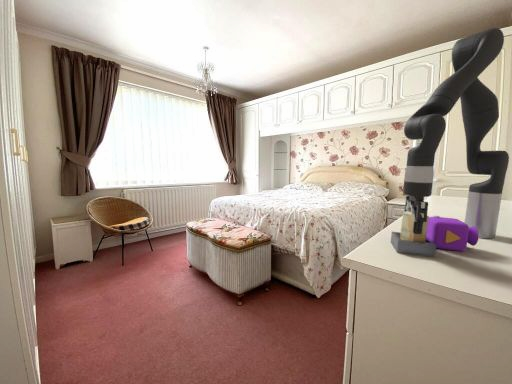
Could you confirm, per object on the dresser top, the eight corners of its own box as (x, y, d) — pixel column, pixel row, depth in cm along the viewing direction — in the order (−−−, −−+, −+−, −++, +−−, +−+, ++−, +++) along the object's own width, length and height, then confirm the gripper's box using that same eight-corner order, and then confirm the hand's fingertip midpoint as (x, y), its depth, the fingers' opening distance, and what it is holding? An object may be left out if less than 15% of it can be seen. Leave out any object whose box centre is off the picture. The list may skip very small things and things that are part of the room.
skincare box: (398, 246, 78) (401, 211, 77) (410, 246, 79) (414, 211, 77) (412, 253, 72) (416, 215, 70) (425, 253, 72) (429, 215, 71)
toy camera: (485, 254, 72) (489, 224, 71) (435, 251, 75) (439, 221, 73) (461, 243, 82) (465, 215, 81) (419, 240, 85) (422, 213, 84)
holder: (390, 242, 82) (391, 231, 82) (423, 246, 79) (425, 234, 78) (397, 252, 73) (398, 240, 72) (434, 257, 69) (436, 244, 69)
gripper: (441, 183, 65) (435, 238, 67) (424, 179, 78) (419, 225, 80) (410, 181, 67) (405, 235, 70) (399, 178, 81) (395, 223, 83)
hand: (412, 229), depth 75 cm, fingers open, 8 cm apart
